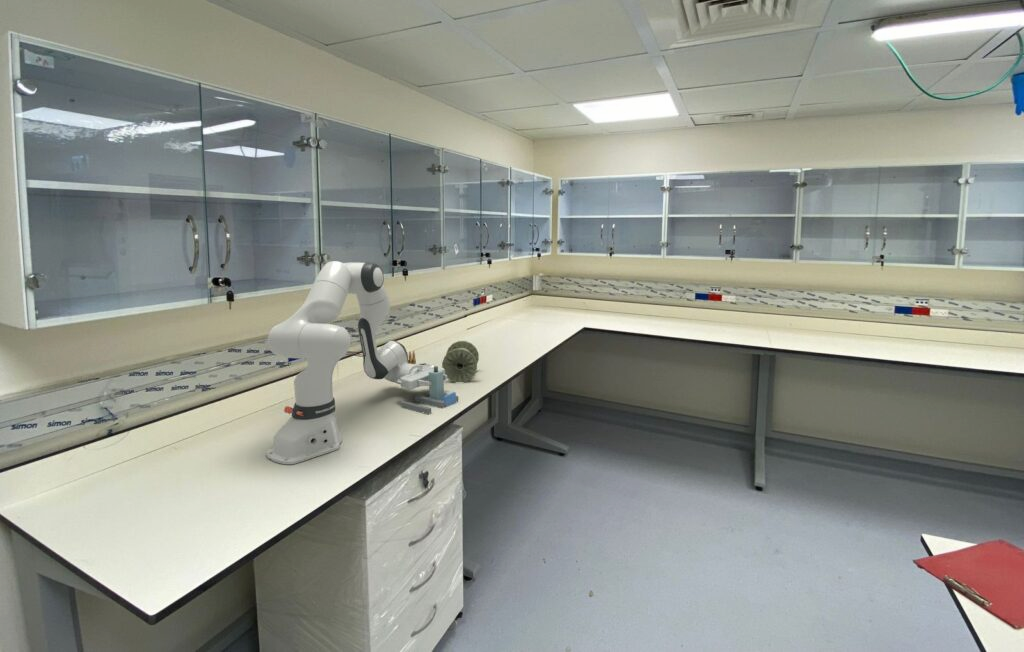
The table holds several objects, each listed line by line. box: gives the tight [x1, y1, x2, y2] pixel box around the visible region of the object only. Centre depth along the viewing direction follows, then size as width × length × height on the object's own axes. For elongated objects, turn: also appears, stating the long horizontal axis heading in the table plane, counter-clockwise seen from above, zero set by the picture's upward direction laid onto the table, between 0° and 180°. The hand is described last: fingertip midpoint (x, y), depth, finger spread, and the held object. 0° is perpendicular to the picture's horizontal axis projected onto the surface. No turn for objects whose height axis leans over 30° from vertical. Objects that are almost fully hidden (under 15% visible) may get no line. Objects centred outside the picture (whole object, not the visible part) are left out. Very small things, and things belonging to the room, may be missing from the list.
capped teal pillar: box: [428, 365, 445, 401], centre depth 201 cm, size 4×4×14 cm
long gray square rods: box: [400, 391, 459, 415], centre depth 198 cm, size 17×14×4 cm
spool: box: [441, 340, 480, 383], centre depth 232 cm, size 16×15×15 cm
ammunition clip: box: [407, 350, 417, 364], centre depth 232 cm, size 11×2×12 cm, turn 129°
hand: (438, 380), depth 200 cm, fingers open, 8 cm apart
